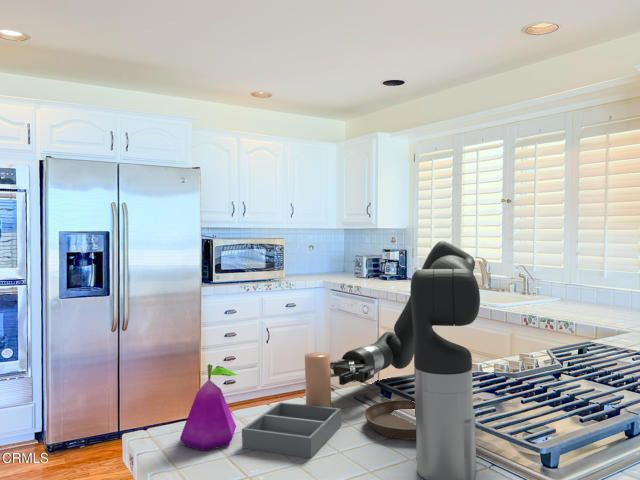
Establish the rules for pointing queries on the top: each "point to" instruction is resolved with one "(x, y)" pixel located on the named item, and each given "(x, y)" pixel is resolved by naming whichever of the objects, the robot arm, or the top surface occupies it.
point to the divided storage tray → (292, 429)
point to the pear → (209, 417)
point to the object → (391, 419)
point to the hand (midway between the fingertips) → (324, 377)
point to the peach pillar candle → (318, 379)
